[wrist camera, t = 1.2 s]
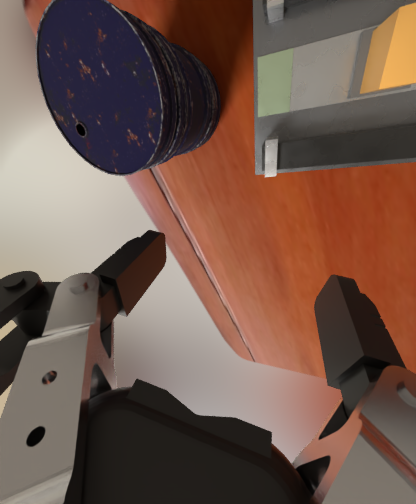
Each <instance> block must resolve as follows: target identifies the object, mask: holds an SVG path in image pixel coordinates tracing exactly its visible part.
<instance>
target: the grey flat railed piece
mask: <svg viewBox="0 0 416 504" xmlns="http://www.w3.org/2000/svg"><path fill="white" fill-rule="evenodd" d="M412 3H416V0H253V46H254V118H255V175H260V174H265V177H273V176H276V174H277V173H284V172H297V171H309V170H321V169H333V168H346V167H358V166H370V165H382V164H395V163H407V162H416V83H415V84H411V87H410V88H406V89H401V90H395V91H390V92H384V93H378V94H373V95H367V96H362V97H356V98H351V99H348V97H349V92H350V87H351V82H352V77H353V71H354V66H355V61H356V56H357V51H358V46H359V40H360V35H361V32H362V31H364V30H367V29H371V28H375V27H378V26H379V25H381V24H382V23H383V22H384V21H385V20H386V19H387V18H388V17H389V16H391V15H392V14H393V13H394V12H395V11H396V10H397V9H398V8H399V7H402V6H405V5H409V4H412Z"/></svg>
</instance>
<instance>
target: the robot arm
mask: <svg viewBox="0 0 416 504" xmlns="http://www.w3.org/2000/svg"><path fill="white" fill-rule="evenodd" d="M165 262H166V243H165V235H164V233H160V232H156V231H152V230H148V231H147V232H146V233H145V234H144V235H142V236H141V237H137V238H134V239H132V240H130V241H128V242H127V243H126V244H124V245H123V246H122V247H121V249H119V250H117V251H116V252H115V254H113V255H112V256H110V257H109V258H108V259H107V260H106V261H104V262H103V263H102V264H101V265H100V266H99V267H98V268H96V269H95V270H94V271H93V272H92V273H80V274H76V275H73V276H70V277H68V278H66V279H65V280H64V281H62V282H42V280H41V279H40V277H39V275H38V274H37V273H35V272H32V271H22V272H17V273H13V274H11V275H8V276H6V277H4V278H2V279H0V329H1V328H2V327H3V326H4V325H6V324H7V323H8V322H9V321H10V320H13V321H14V322H15V323H16V324H17V325H18V326H17V327H15V328H14V329H13V330H12V331H11V332H10V333H9V334H8V335H6V336H5V337H4V338H3V339H2V340H1V341H0V395H1V394H2V393H3V392H4V391H5V390H6V389H7V388H8V387H9V386H10V385H11V384H12V382H13V384H12V387H11V390H10V393H9V396H8V398H7V401H6V404H5V407H4V410H3V413H2V416H1V418H0V504H416V374H415V373H413V372H411V371H410V370H408V369H406V367H405V365H404V363H403V361H402V359H401V357H400V355H399V353H398V351H397V349H396V347H395V345H394V343H393V340H392V338H391V336H390V334H389V332H388V330H387V329H385V327H386V326H385V324H384V322H383V320H382V319H380V317H381V316H380V314H379V312H378V310H377V308H376V306H375V305H374V304H373V302H372V301H371V300H370V299H369V298H368V297H367V296H366V295H365V294H362V293H360V291H359V288H358V286H357V284H356V282H355V280H354V279H351V278H347V277H342V276H338V275H331V276H330V278H329V279H328V281H327V282H326V284H325V285H324V287H323V288H322V290H321V291H320V293H319V295H318V296H317V298H316V301H315V306H314V310H315V316H316V322H317V327H318V333H319V339H320V344H321V350H322V356H323V361H324V367H325V372H326V378H327V383H328V386H331V387H334V388H337V389H340V390H341V393H342V398H341V399H340V400H339V401H338V402H337V404H336V405H335V407H334V408H333V410H332V411H331V413H330V414H329V416H328V417H327V419H326V420H325V422H324V423H323V425H322V426H321V428H320V429H319V431H318V432H317V434H316V435H315V437H314V438H313V439H312V441H311V442H310V443H309V444H308V445H307V446H306V447H305V448H304V449H303V450H302V451H301V452H300V453H299V455H298V456H297V457H296V458H295V460H294V461H293V463H292V464H291V463H290V462H289V460H288V459H287V458H286V457H285V455H284V454H283V453H282V452H281V451H279V450H278V449H277V448H276V447H275V446H274V445H273V444H272V443H271V441H272V439H271V438H272V432H270V431H267V430H265V429H262V428H260V427H257V426H255V425H252V424H250V423H247V422H245V421H242V420H240V419H237V418H232V417H216V416H200V415H196V414H194V413H193V412H192V411H191V410H190V409H188V408H187V407H186V406H185V405H184V404H182V403H181V402H180V401H179V400H177V399H176V398H175V397H174V396H173V395H171V394H170V393H169V392H168V391H167V390H164V389H161V388H159V387H157V386H154V385H152V384H149V383H147V382H144V381H142V380H139V379H136V381H135V383H134V384H133V386H132V387H122V388H117V379H116V372H115V367H114V320H113V319H114V318H115V317H116V315H117V314H120V315H123V316H126V317H127V316H128V314H129V313H130V312H131V310H132V309H133V308H134V306H135V305H136V304H137V302H138V301H139V300H140V298H141V297H142V296H143V294H144V293H145V292H146V290H147V289H148V287H149V286H150V285H151V283H152V282H153V281H154V279H155V278H156V277H157V275H158V274H159V273H160V271H161V270H162V269H163V267H164V265H165Z"/></svg>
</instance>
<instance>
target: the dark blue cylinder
mask: <svg viewBox="0 0 416 504" xmlns="http://www.w3.org/2000/svg"><path fill="white" fill-rule="evenodd" d="M36 64H37V72H38V77H39V82H40V86H41V90H42V93H43V96H44V99H45V102H46V104H47V107H48V109H49V111H50V114H51V116H52V118H53V120H54V122H55V124H56V126H57V127H58V129H59V130H60V132H61V134H62V135H63V137H64V138H65V139H66V141H67V142H68V143H69V145H70V146H71V147H72V148H73V149H74V150H75V151H76V153H77V154H78V155H79V156H81V157H82V158H83V159H84V160H85V161H87V162H88V163H89V164H90V165H92V166H93V167H95V168H97V169H99V170H100V171H103V172H105V173H108V174H112V175H117V176H125V175H131V174H134V173H136V172H139V171H141V170H144V169H149V168H152V167H154V166H156V165H159V164H162V163H164V162H166V161H168V160H169V159H171V158H172V157H173V156H177V155H181V154H185V153H188V152H191V151H193V150H195V149H196V148H198V147H200V146H202V145H203V144H205V143H206V142H207V141H208V140H209V139H210V138H211V136H212V135H213V133H214V131H215V129H216V127H217V124H218V121H219V117H220V109H221V105H220V94H219V90H218V86H217V83H216V81H215V78H214V76H213V75H212V73H211V71H210V70H209V69H208V68H207V67H206V65H205V64H203V63H202V62H201V61H200V60H199V59H198V58H196V57H195V56H194V55H193V54H192V53H190V52H189V51H187V50H186V49H184V48H183V47H181V46H179V45H176V44H173V43H170V42H168V41H167V40H166V38H165V37H164V36H163V35H162V34H161V33H159V32H158V31H157V30H156V29H155V28H153V27H151V26H149V25H147V24H146V23H145V22H143V21H142V20H140V19H139V18H137V17H135V16H134V15H132V14H130V13H128V12H126V11H123V10H120V9H119V8H117V7H116V6H114V5H113V4H111V3H110V2H108V1H106V0H52V1H51V3H50V4H49V5H48V6H47V8H46V9H45V11H44V13H43V15H42V18H41V20H40V23H39V27H38V31H37V38H36Z"/></svg>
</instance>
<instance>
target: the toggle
mask: <svg viewBox="0 0 416 504" xmlns="http://www.w3.org/2000/svg"><path fill="white" fill-rule="evenodd" d="M415 83H416V3H412V4H409V5H405V6H402V7H399V8H398V9H397V10H396V11H395V12H394V13H393V14H392V15H391V16H389V17H388V18H387V19H386V20H385V21H384V22H383V23H382V24H381V25H379V26H378V27H375V28H371V29H367V30H364V31H362V32H361V35H360V40H359V46H358V51H357V56H356V61H355V66H354V71H353V77H352V82H351V87H350V92H349V97H348V99H351V98H356V97H362V96H367V95H373V94H378V93H384V92H390V91H395V90H401V89H406V88H410V87H411V84H415Z"/></svg>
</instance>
